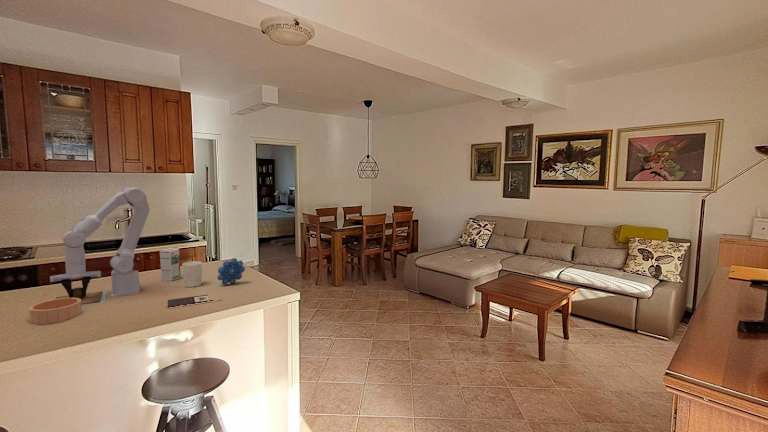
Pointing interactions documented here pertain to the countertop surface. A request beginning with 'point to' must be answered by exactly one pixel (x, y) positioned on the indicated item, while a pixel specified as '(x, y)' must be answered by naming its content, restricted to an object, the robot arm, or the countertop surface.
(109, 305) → the countertop surface
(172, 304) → the chocolate bar
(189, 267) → the white cup
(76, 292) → the lid
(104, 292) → the mat
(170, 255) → the syrup box
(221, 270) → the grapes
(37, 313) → the bowl
